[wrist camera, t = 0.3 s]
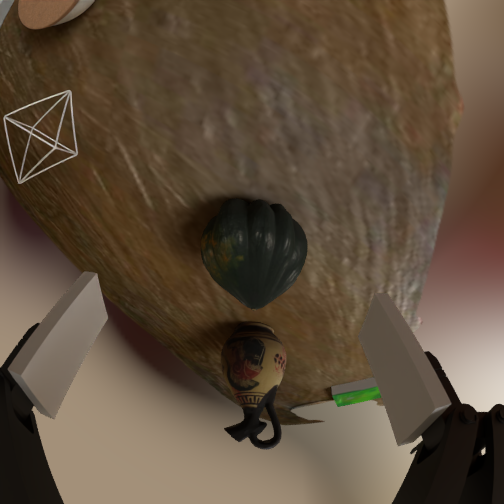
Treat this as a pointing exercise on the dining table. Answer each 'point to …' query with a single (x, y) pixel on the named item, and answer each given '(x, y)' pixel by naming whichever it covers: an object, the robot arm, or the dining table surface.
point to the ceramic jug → (254, 379)
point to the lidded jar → (50, 11)
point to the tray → (355, 392)
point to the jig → (4, 9)
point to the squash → (254, 250)
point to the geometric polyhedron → (44, 135)
